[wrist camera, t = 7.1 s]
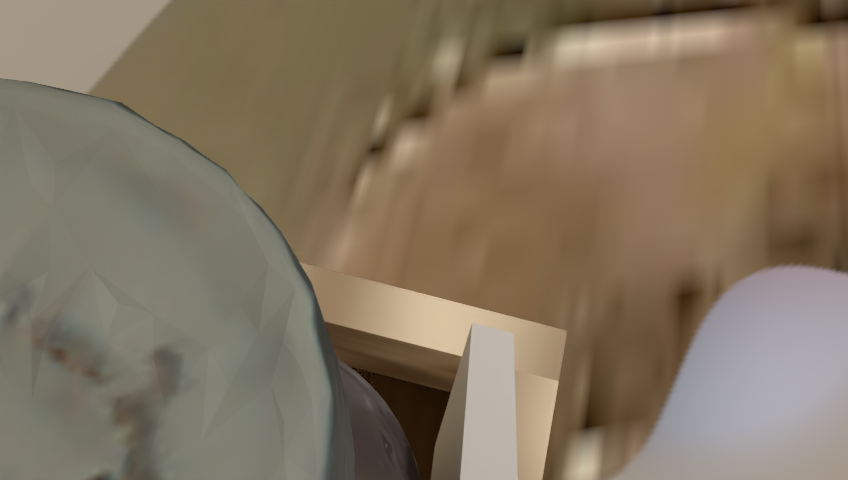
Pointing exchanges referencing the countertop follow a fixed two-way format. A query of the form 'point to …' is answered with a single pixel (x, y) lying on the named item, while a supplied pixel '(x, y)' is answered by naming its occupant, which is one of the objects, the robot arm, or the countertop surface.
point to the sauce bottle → (160, 316)
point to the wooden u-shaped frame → (440, 347)
